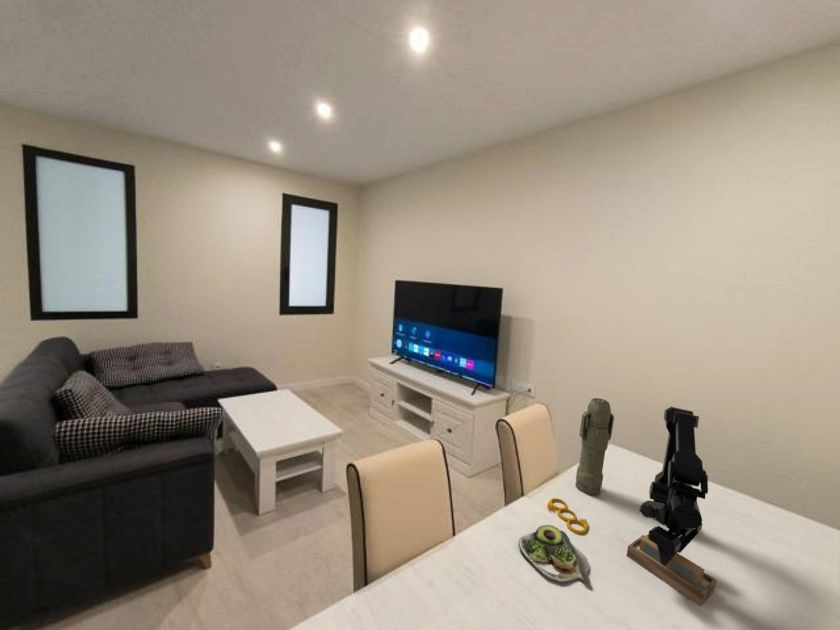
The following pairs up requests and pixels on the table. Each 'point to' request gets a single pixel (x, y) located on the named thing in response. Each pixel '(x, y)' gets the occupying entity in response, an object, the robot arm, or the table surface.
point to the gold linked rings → (568, 520)
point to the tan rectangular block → (674, 563)
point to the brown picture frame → (672, 575)
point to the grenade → (594, 445)
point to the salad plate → (555, 554)
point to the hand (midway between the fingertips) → (670, 558)
